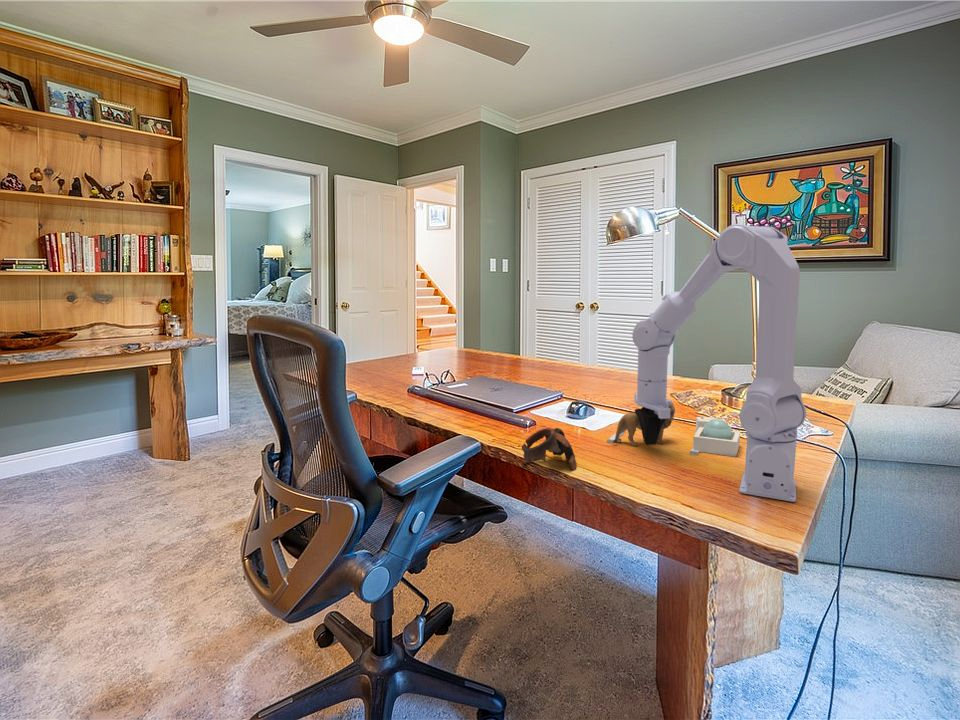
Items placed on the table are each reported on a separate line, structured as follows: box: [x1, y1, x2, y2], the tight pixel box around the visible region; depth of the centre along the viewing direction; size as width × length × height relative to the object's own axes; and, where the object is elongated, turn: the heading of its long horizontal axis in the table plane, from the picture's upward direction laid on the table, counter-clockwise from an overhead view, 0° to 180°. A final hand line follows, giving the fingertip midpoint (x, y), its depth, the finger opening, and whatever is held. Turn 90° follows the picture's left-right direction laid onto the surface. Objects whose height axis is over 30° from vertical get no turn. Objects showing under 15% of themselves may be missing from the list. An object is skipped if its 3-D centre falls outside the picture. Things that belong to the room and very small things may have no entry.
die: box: [695, 416, 717, 433], centre depth 116 cm, size 4×4×4 cm
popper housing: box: [692, 427, 741, 457], centre depth 108 cm, size 8×8×3 cm
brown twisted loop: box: [521, 427, 577, 472], centre depth 101 cm, size 12×10×8 cm
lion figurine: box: [611, 401, 676, 447], centre depth 112 cm, size 15×5×9 cm, turn 106°
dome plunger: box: [703, 418, 732, 440], centre depth 108 cm, size 5×5×5 cm
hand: (650, 443), depth 108 cm, fingers closed
